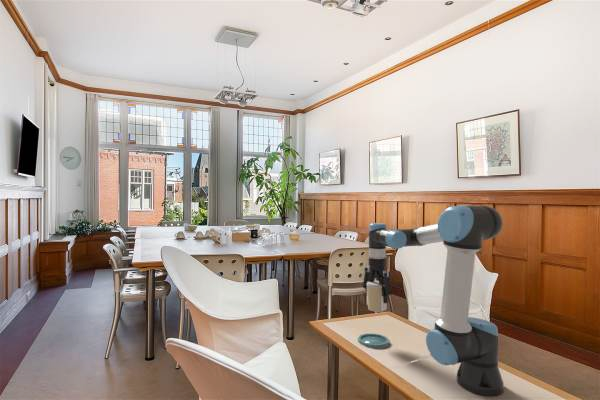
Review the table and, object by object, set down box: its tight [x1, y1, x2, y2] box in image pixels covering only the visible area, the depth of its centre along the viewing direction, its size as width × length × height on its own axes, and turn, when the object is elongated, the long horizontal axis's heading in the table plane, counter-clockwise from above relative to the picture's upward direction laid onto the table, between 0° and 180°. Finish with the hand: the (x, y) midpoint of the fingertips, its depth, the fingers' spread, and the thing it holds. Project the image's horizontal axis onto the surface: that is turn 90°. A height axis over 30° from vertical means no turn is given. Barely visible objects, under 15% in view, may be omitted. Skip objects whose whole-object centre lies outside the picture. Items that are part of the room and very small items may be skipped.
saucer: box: [357, 332, 390, 349], centre depth 165 cm, size 14×14×2 cm
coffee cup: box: [366, 280, 386, 313], centre depth 164 cm, size 9×9×12 cm
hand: (376, 307), depth 164 cm, fingers closed on coffee cup, 8 cm apart
